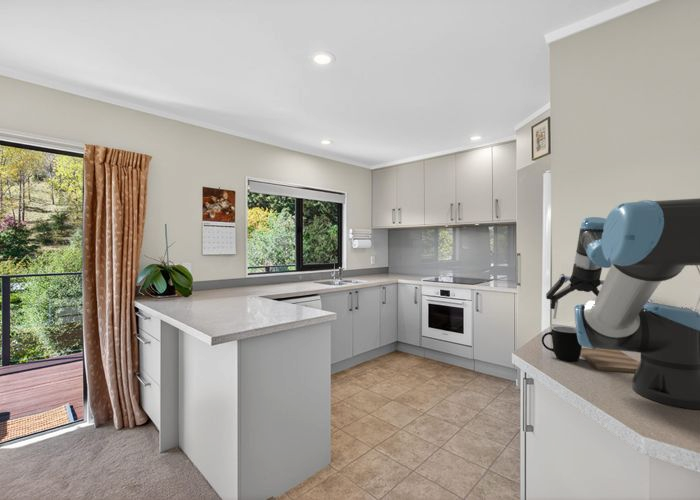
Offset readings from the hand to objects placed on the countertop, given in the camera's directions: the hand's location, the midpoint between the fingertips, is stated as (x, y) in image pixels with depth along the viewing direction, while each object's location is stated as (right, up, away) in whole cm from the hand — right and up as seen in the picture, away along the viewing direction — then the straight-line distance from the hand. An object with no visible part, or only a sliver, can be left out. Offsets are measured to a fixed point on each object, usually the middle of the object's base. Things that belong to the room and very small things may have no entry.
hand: (576, 320), depth 115 cm
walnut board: (+8, -13, -4) cm, 16 cm away
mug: (-5, -13, 0) cm, 14 cm away
